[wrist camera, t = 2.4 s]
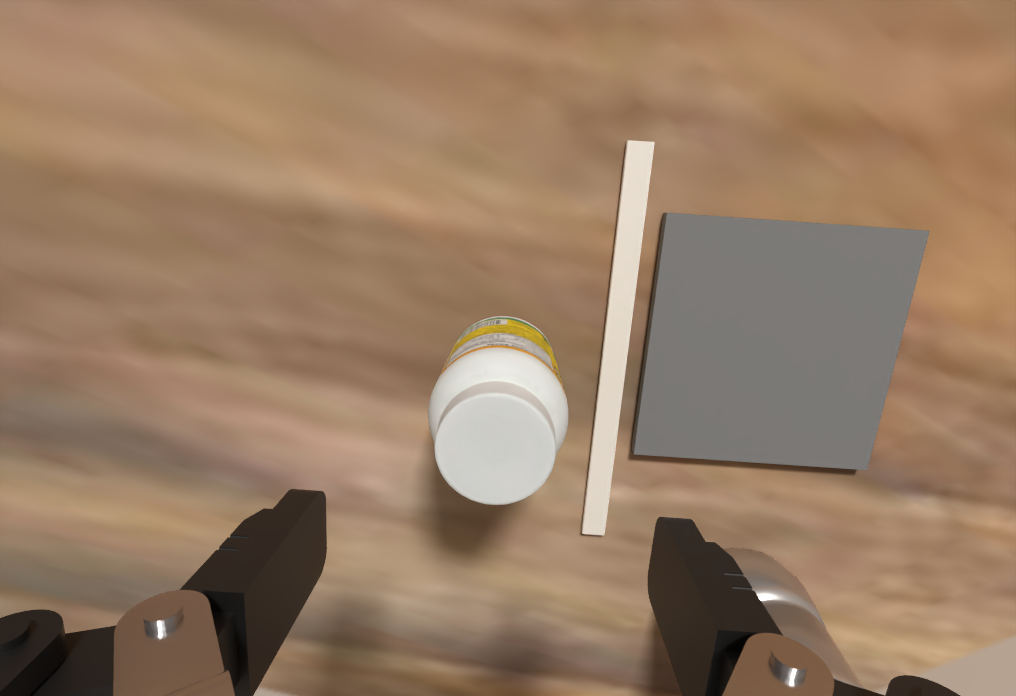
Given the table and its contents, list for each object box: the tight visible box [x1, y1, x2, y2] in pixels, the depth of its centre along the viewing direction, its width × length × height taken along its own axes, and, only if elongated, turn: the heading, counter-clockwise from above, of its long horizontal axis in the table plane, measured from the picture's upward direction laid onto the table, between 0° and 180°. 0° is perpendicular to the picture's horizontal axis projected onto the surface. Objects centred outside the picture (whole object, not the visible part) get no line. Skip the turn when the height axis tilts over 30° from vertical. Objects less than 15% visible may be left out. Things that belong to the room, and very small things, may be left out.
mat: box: [631, 213, 929, 470], centre depth 25 cm, size 12×12×1 cm
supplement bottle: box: [428, 316, 568, 505], centre depth 21 cm, size 5×5×10 cm
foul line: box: [582, 140, 655, 535], centre depth 25 cm, size 20×1×1 cm, turn 176°
